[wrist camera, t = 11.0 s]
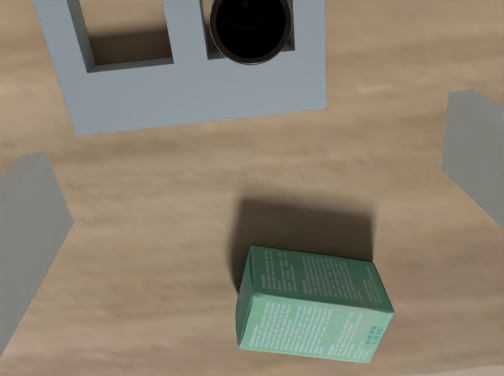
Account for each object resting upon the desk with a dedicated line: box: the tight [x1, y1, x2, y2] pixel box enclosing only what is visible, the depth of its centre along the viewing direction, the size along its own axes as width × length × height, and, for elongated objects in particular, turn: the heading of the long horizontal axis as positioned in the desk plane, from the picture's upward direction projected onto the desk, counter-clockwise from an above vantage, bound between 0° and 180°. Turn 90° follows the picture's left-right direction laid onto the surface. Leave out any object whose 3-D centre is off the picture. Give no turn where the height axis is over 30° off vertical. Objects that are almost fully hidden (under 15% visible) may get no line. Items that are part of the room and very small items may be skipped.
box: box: [236, 245, 395, 363], centre depth 42 cm, size 7×14×8 cm, turn 79°
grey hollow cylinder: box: [209, 0, 292, 65], centre depth 28 cm, size 4×4×10 cm
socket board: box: [33, 0, 326, 136], centre depth 31 cm, size 20×16×3 cm
